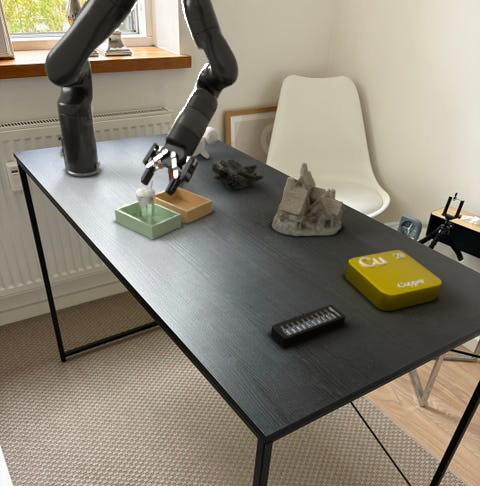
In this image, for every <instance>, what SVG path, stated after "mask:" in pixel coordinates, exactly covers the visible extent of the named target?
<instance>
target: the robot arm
mask: <svg viewBox="0 0 480 486" xmlns="http://www.w3.org/2000/svg"><path fill="white" fill-rule="evenodd" d="M137 2H138V0H85V2H84V3H83V4H82V6H81V8H80V9H79V10H78V13H77V14H76V16H75V17H74V20H73V21H72V23H71V25H70V27H69V28H68V29H67V31H66V32H65V33H64V34H63V36H61V38H60V39H59V41H58V42H56V44H55V45H54V46H53V47H52V48H51V49H50V50H49V52H48V53H47V55H46V58H45V61H44V71H45V73H46V77H47V78H48V80H49V81H50V82H51V83H52V84H53V85H55V86H57V87H60V92H59V96H58V98H57V99H56V107H57V109H56V110H57V115H58V120H59V121H58V122H59V127H60V133H61V135H60V136H59V137H58V138H57V141H60V143H61V153H62V154H63V155H62V156H63V161H64V168H65V170H66V173H67V174H68V175H69V176H71V177H72V176H73V177H78V178H79V177H80V178H84V177H91V176H95V175H96V174H99V173H100V166H101V163H100V161H99V156H98V147H97V141H96V131H95V122H94V114H93V113H94V112H93V101H94V87H93V74H92V67H91V62H90V57H91V56H92V55H93V53H94V52H95V51H96V50H97V49H98V48H99V47H100V46H102V44H104V43H105V42H106V41H107V40H108V39H109V38H111V36H113V34H115V32H116V31H118V30H119V29H120V28H121V26H123V24H124V22H125V21H126V20H127V18H128V17H129V16H130V14H131V13H132V11H133V10H134V8H135V6H136V4H137ZM181 4H182V11H183V14H184V19H185V21H186V24H187V28H188V30H189V33H190V36H191V38H192V41H193V44H194V45H195V48H196V49H197V50H199V51H202V52H203V53H204V55H205V57H206V59H207V62H206V63H205V64H204V66H203V67H202V69H201V70H200V72H199V74H198V76H197V79H196V83H195V85H194V88H193V91H192V92H191V94H190V95H189V97H188V98H187V100H186V103H185V104H184V106H183V107H182V110H181V111H180V112H179V114H178V115H177V117H176V118H175V120H174V122H173V124H172V126H171V128H170V129H169V131H168V133H167V134H166V137H165V144H163V146H160V145H159V144H158V143H157V142H153V144H152V145H151V146H150V148H149V150H148V152H146V155H145V157H143V160H142V164H143V165H144V166H145V170H144V172H143V174H142V175H141V177H140V183H142V184H143V186H146V187H147V186H149V184H150V183H151V181H152V179H153V177H154V175H155V172H157V171H159V170H162V169H164V168H166V169H168V168H170V169H172V170H173V173H174V178H172V179H171V181H170V183H169V182H168V184H167V186H166V188H165V190H164V191H165V192H166V193H167V194H168V195H170V196H172V195H173V194H174V193H175V192H176V190H177V188H178V186H179V184H180V183H181V184H182V183H186V184H189V183H190V182H191V180H192V177H193V176H194V173H195V171H196V170H197V167H198V166H199V160H198V159H197V158H196V157H195V156H192V155H193V153H194V152H195V150H196V148H197V146H198V144H199V143H200V141H201V139H202V137H203V135H204V134H205V132H206V129H207V127H209V124H210V123H211V121H212V118H213V117H214V116H215V114H216V111H217V110H218V107H219V101H218V100H219V98H220V95H221V93H222V92H223V90H224V89H226V88H229V87H231V86H232V85H234V84H235V83H236V82H237V80H238V77H239V64H238V61H237V58H236V55H235V53H234V52H233V50H232V48H231V47H230V45H229V43H228V41H227V39H226V38H225V36H224V34H223V33H222V29H221V26H220V23H219V21H218V16H217V15H216V12H215V9H214V5H213V2H212V0H181Z"/></svg>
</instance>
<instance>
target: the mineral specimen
mask: <svg viewBox="0 0 480 486" xmlns="http://www.w3.org/2000/svg"><path fill="white" fill-rule="evenodd" d="M257 168H258V165H257V164H256V163H255V164H253V165H242V163H239V162H238V161H236V160H235V159H233V158H232V159H227V160H218V161H217V162H216V163H215V162H213V163H212V164H211V168H210V171H211V174H215V175H214V176H213V179H214V180H217V181H218V182H221V183H223V184H224V187H225V188H226V189H229V190H231V191H232V190H233V191H234V190H240V189H242V188H250V187H252V186H253V184H255V183H256V182H259V181H260V180H262V179H264V175H261V174H259V175H258V173H257V172H255V171H256V169H257Z"/></svg>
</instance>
